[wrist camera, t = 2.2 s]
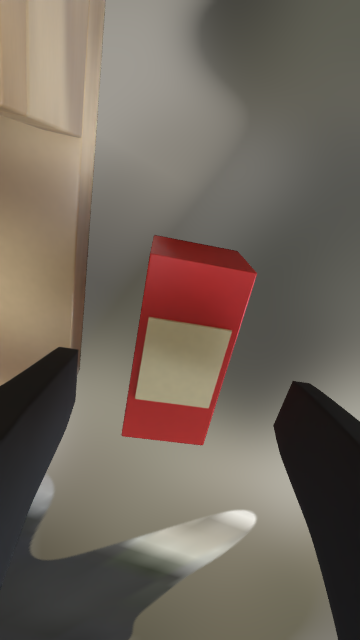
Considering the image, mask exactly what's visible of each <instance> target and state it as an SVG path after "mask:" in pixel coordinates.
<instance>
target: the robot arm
mask: <svg viewBox="0 0 360 640" xmlns="http://www.w3.org/2000/svg"><path fill="white" fill-rule="evenodd" d="M78 352H79V350H78V349H71V348H65V347H58V348H56V349H55V350H53V351H52V352H50V353H49V354H47V355H46V356H44V357H43V358H42V359H40V360H39V361H37V362H36V363H34V364H33V365H31V366H30V367H29V368H27V369H26V370H24V371H23V372H21V373H20V374H18V375H17V376H15V377H14V378H12V379H11V380H9V381H7V382H6V383H4V384H3V385H1V386H0V589H1V586H2V583H3V581H4V578H5V575H6V572H7V569H8V566H9V563H10V560H11V558H12V555H13V552H14V549H15V546H16V544H17V541H18V538H19V535H20V533H21V530H22V527H23V524H24V521H25V519H26V516H27V513H28V511H29V509H30V506H31V504H32V502H33V499H34V497H35V495H36V493H37V490H38V488H39V486H40V484H41V482H42V480H43V478H44V475H45V473H46V471H47V469H48V467H49V465H50V463H51V460H52V458H53V456H54V454H55V452H56V450H57V447H58V445H59V443H60V441H61V439H62V437H63V434H64V432H65V430H66V427H67V424H68V421H69V418H70V415H71V412H72V409H73V406H74V403H75V397H76V382H77V367H78ZM274 430H275V435H276V440H277V443H278V448H279V452H280V455H281V458H282V460H283V463H284V466H285V468H286V471H287V474H288V476H289V479H290V482H291V484H292V487H293V489H294V492H295V494H296V497H297V500H298V502H299V505H300V507H301V510H302V513H303V515H304V518H305V520H306V523H307V526H308V528H309V532H310V534H311V538H312V541H313V544H314V548H315V551H316V555H317V558H318V562H319V565H320V569H321V572H322V576H323V580H324V583H325V587H326V591H327V595H328V599H329V603H330V607H331V610H332V614H333V619H334V623H335V627H336V632H337V636H338V640H360V421H358V420H357V419H356V418H355V417H353V416H352V415H351V414H350V413H348V412H347V411H346V410H345V409H343V408H342V407H341V406H339V405H338V404H337V403H336V402H334V401H333V400H332V399H331V398H329V397H328V396H327V395H325V394H324V393H323V392H321V391H320V390H319V389H317V388H316V387H314V386H313V385H311V384H309V383H302V382H296V381H293V382H292V384H291V387H290V389H289V391H288V393H287V396H286V398H285V400H284V403H283V405H282V407H281V409H280V412H279V414H278V416H277V419H276V421H275V423H274Z"/></svg>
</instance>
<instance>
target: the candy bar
mask: <svg viewBox="0 0 360 640" xmlns="http://www.w3.org/2000/svg"><path fill="white" fill-rule="evenodd" d="M256 276H257V273H256V272H255V271H254V269H253V268H252V267H251V266H250V265H249V264H248V263H247V261H246V260H245V259H244V258H243V257H242V256H241V255H240V254H239V252H238V251H234V250H229V249H224V248H219V247H213V246H208V245H203V244H198V243H193V242H187V241H183V240H177V239H172V238H167V237H162V236H157V235H155V236H154V238H153V242H152V247H151V252H150V257H149V264H148V270H147V276H146V283H145V289H144V296H143V302H142V308H141V315H140V321H139V327H138V333H137V340H136V346H135V352H134V359H133V365H132V372H131V378H130V384H129V391H128V397H127V403H126V410H125V416H124V422H123V429H122V436H125V437H134V438H142V439H151V440H160V441H169V442H177V443H186V444H194V445H203V444H204V441H205V437H206V434H207V431H208V428H209V425H210V421H211V418H212V415H213V412H214V409H215V406H216V402H217V399H218V396H219V393H220V390H221V387H222V384H223V380H224V377H225V374H226V371H227V367H228V364H229V361H230V358H231V355H232V352H233V349H234V346H235V342H236V339H237V336H238V333H239V330H240V327H241V324H242V320H243V317H244V314H245V311H246V307H247V305H248V301H249V298H250V295H251V292H252V289H253V285H254V282H255V279H256Z"/></svg>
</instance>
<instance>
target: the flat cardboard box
mask: <svg viewBox="0 0 360 640" xmlns="http://www.w3.org/2000/svg"><path fill="white" fill-rule="evenodd" d="M105 1H106V0H0V386H1V385H3V384H4V383H6V382H7V381H9V380H11V379H12V378H14V377H15V376H17V375H18V374H20V373H21V372H23V371H24V370H26V369H27V368H29V367H30V366H31V365H33V364H34V363H36V362H37V361H39V360H40V359H42V358H43V357H44V356H46V355H47V354H49V353H50V352H52V351H53V350H55V349H56V348H58V347H65V348H71V349H78V350H79V352H78V367H77V374H78V372H79V370H80V356H81V342H82V328H83V314H84V299H85V284H86V270H87V257H88V242H89V227H90V214H91V200H92V186H93V172H94V157H95V143H96V128H97V115H98V100H99V86H100V72H101V58H102V44H103V30H104V16H105Z"/></svg>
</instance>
